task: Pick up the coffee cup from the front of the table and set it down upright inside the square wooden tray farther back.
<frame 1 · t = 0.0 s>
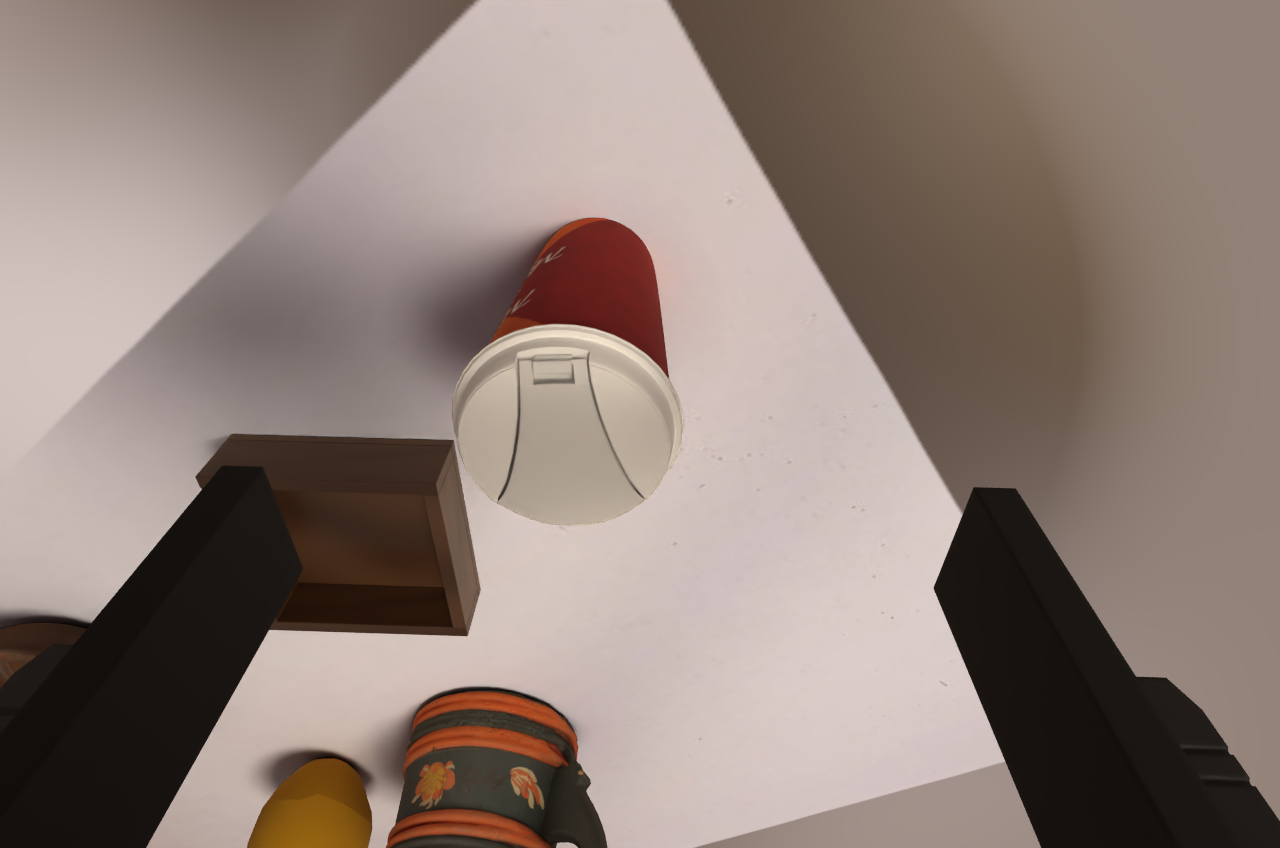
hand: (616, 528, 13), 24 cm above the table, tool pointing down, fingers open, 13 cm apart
apple: (339, 764, 66), on the table
coffee cup: (597, 273, 36), on the table
dish: (92, 667, 57), on the table
square wooden tray: (366, 518, 46), on the table
beer stein: (518, 724, 61), on the table
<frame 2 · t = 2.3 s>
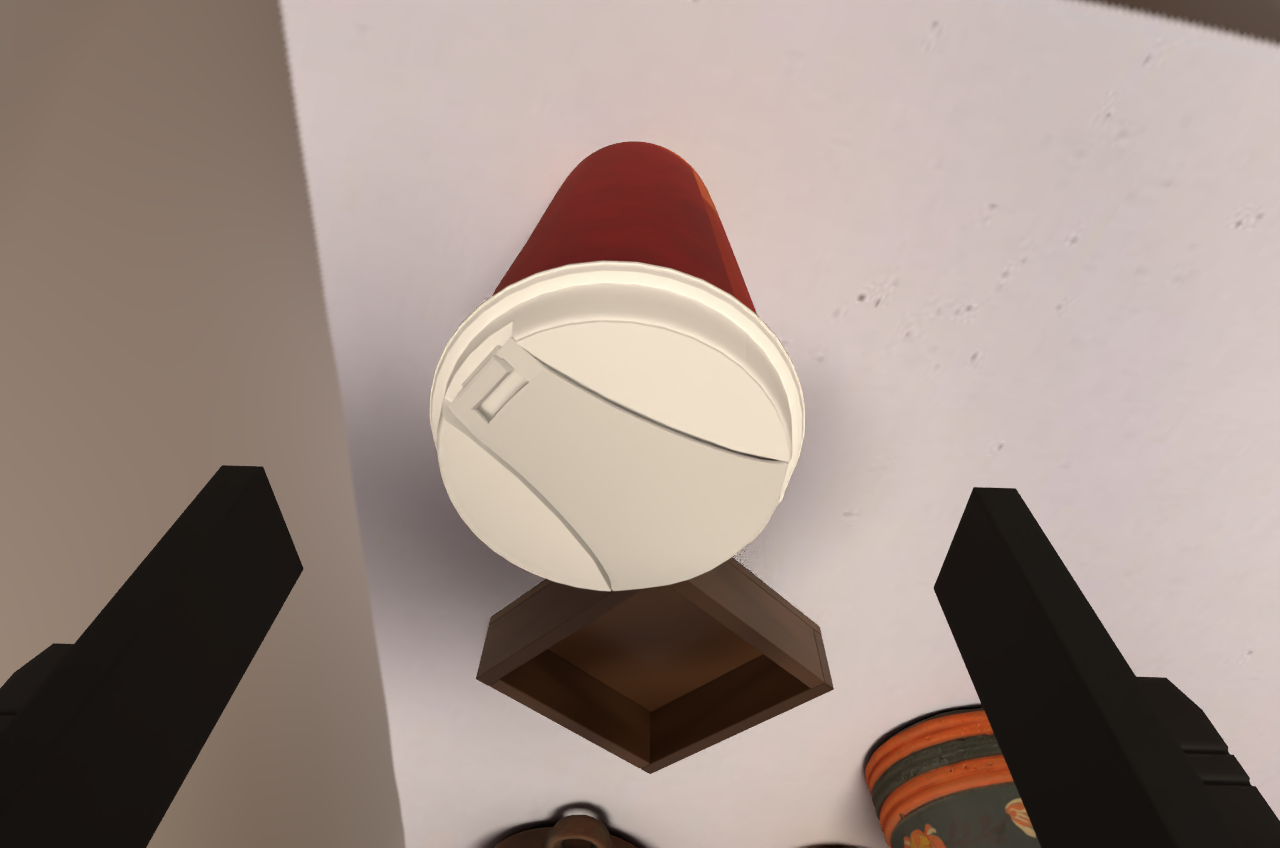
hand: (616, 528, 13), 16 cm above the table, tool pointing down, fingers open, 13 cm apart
coffee cup: (636, 221, 26), on the table
square wooden tray: (654, 622, 40), on the table
beer stein: (985, 739, 47), on the table
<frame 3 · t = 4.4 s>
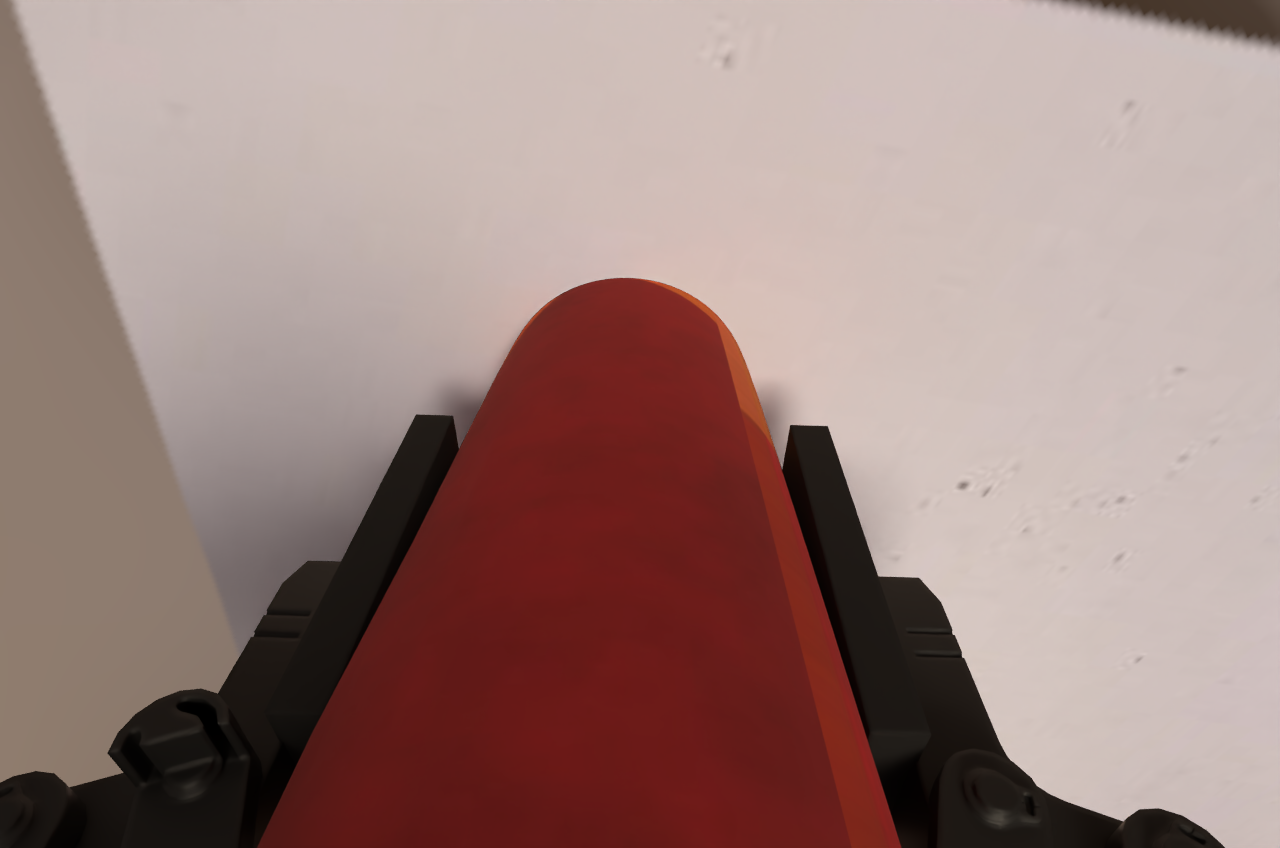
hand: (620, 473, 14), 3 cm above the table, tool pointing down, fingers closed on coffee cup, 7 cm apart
coffee cup: (630, 384, 17), on the table, touching gripper
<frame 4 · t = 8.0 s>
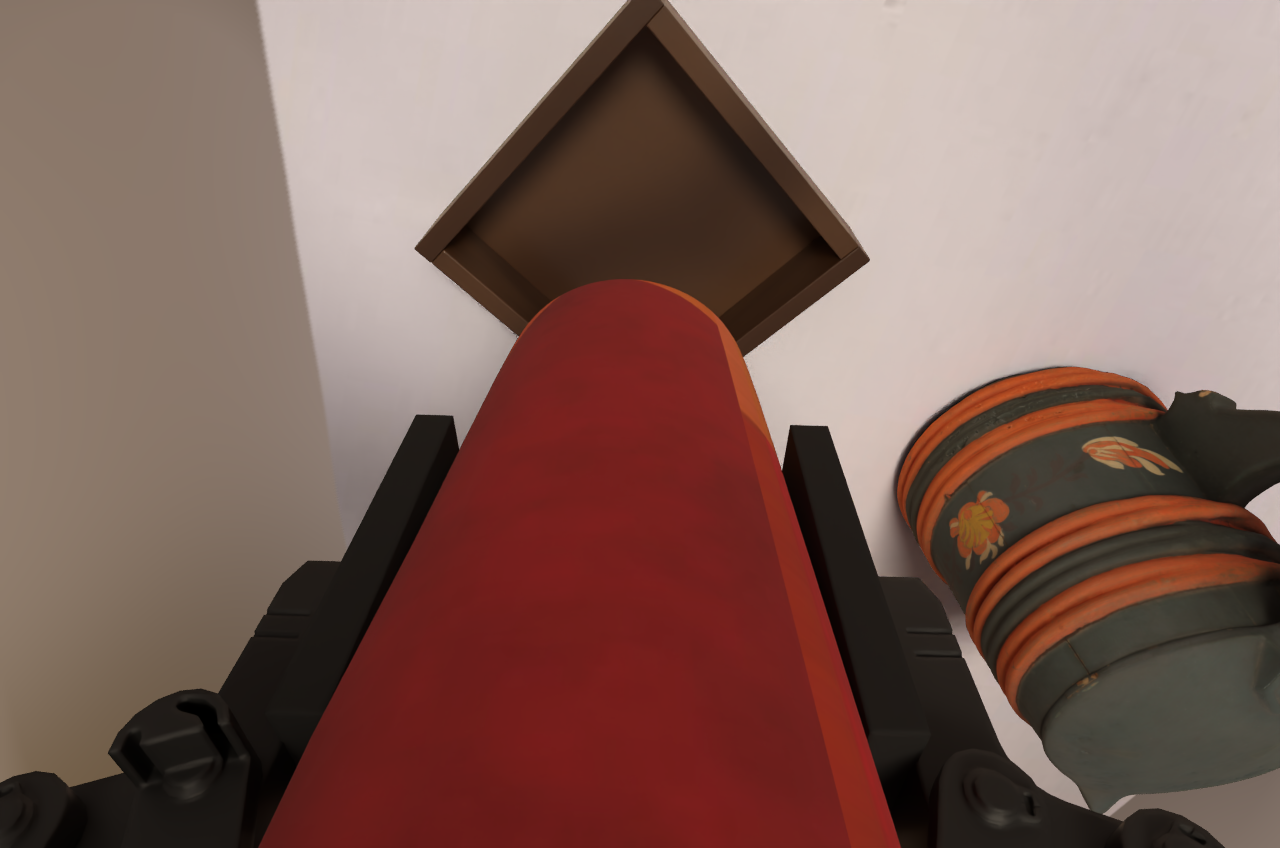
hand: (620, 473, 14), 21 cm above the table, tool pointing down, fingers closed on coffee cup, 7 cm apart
coffee cup: (629, 385, 17), point 17 cm above the table, touching gripper
square wooden tray: (643, 221, 32), on the table
beer stein: (1043, 435, 39), on the table
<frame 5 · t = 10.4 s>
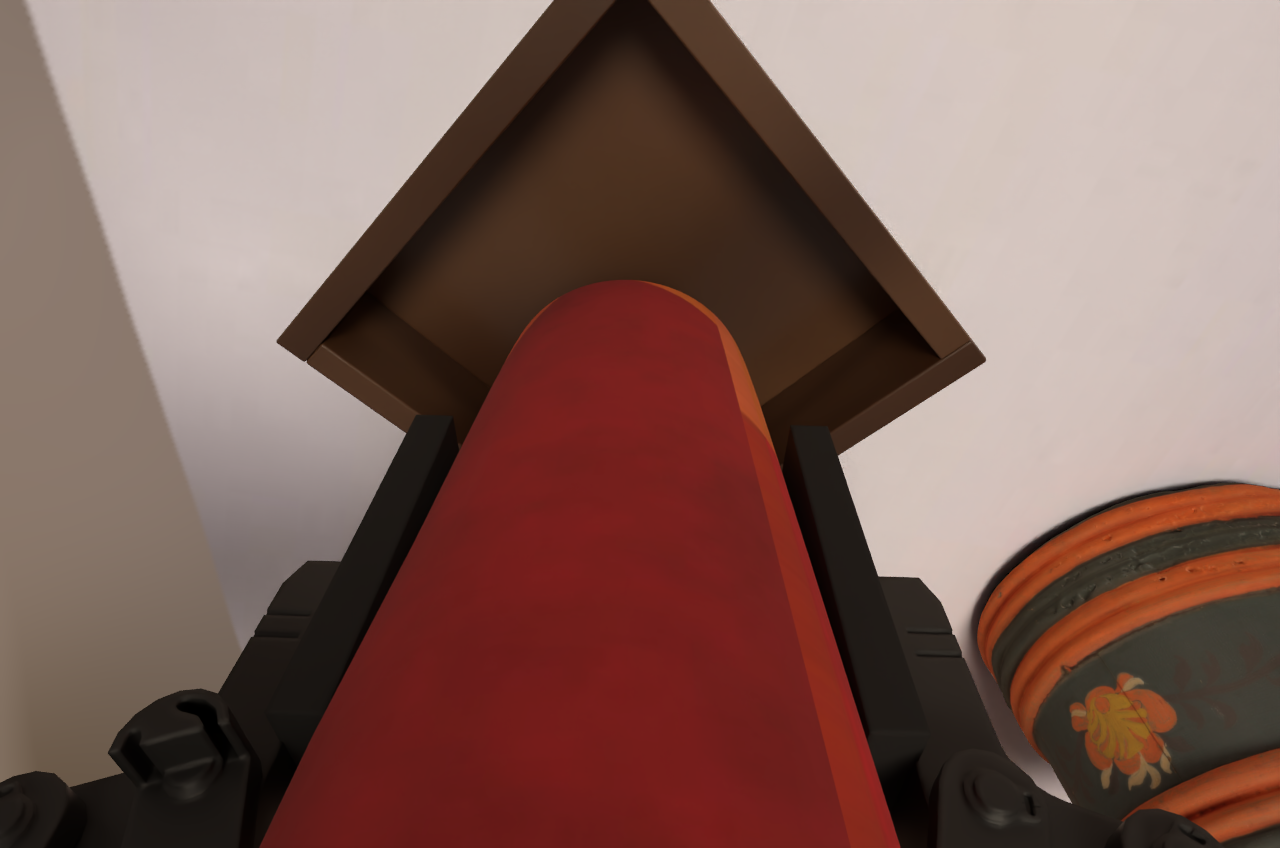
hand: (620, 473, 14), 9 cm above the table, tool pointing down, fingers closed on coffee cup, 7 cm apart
coffee cup: (629, 385, 17), point 6 cm above the table, touching gripper
square wooden tray: (634, 288, 22), on the table
beer stein: (1181, 563, 29), on the table
when the fingers open (4 cm above the table, at t = 12.1 s): coffee cup stays where it is, resting on square wooden tray.
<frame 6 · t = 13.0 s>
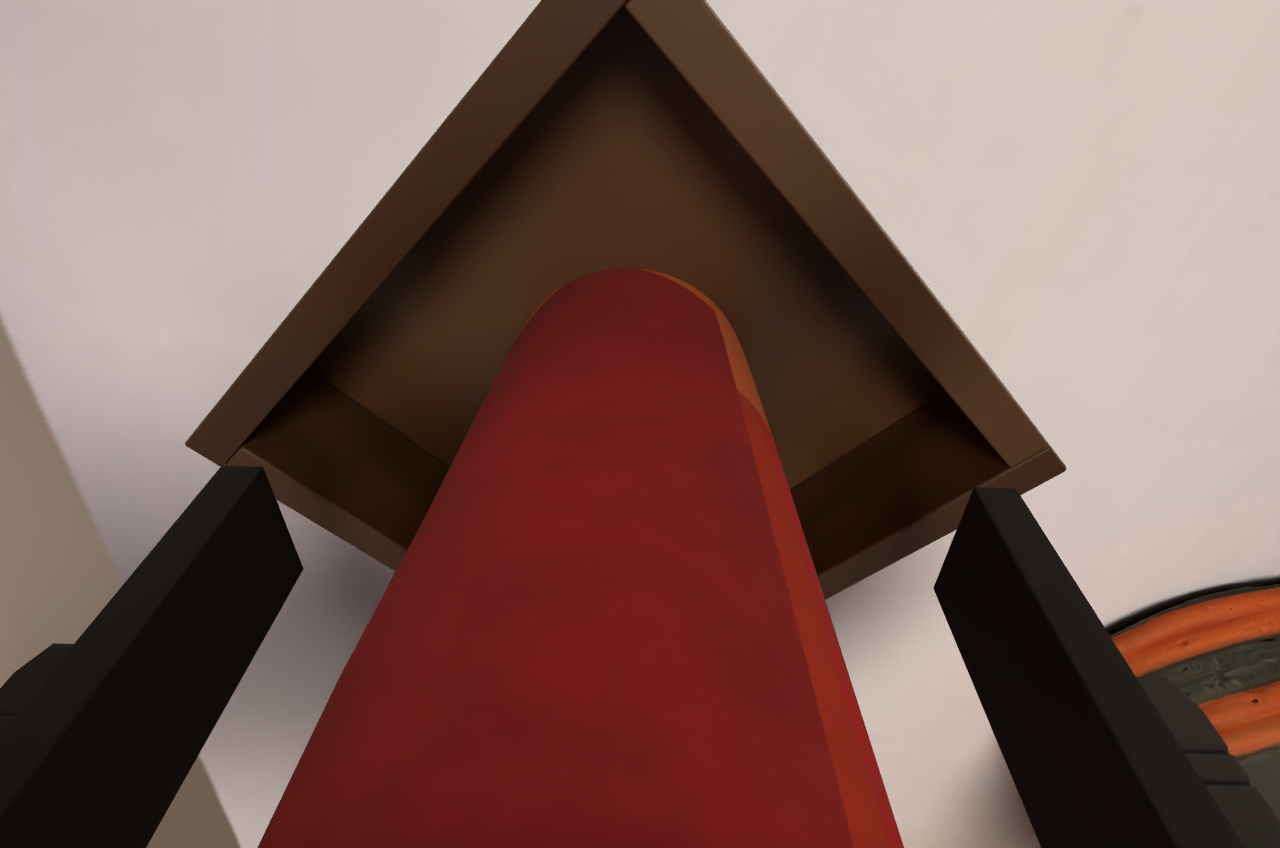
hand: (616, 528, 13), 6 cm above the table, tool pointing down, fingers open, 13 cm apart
coffee cup: (631, 371, 18), resting on square wooden tray
square wooden tray: (629, 363, 18), on the table
beer stein: (1258, 658, 25), on the table
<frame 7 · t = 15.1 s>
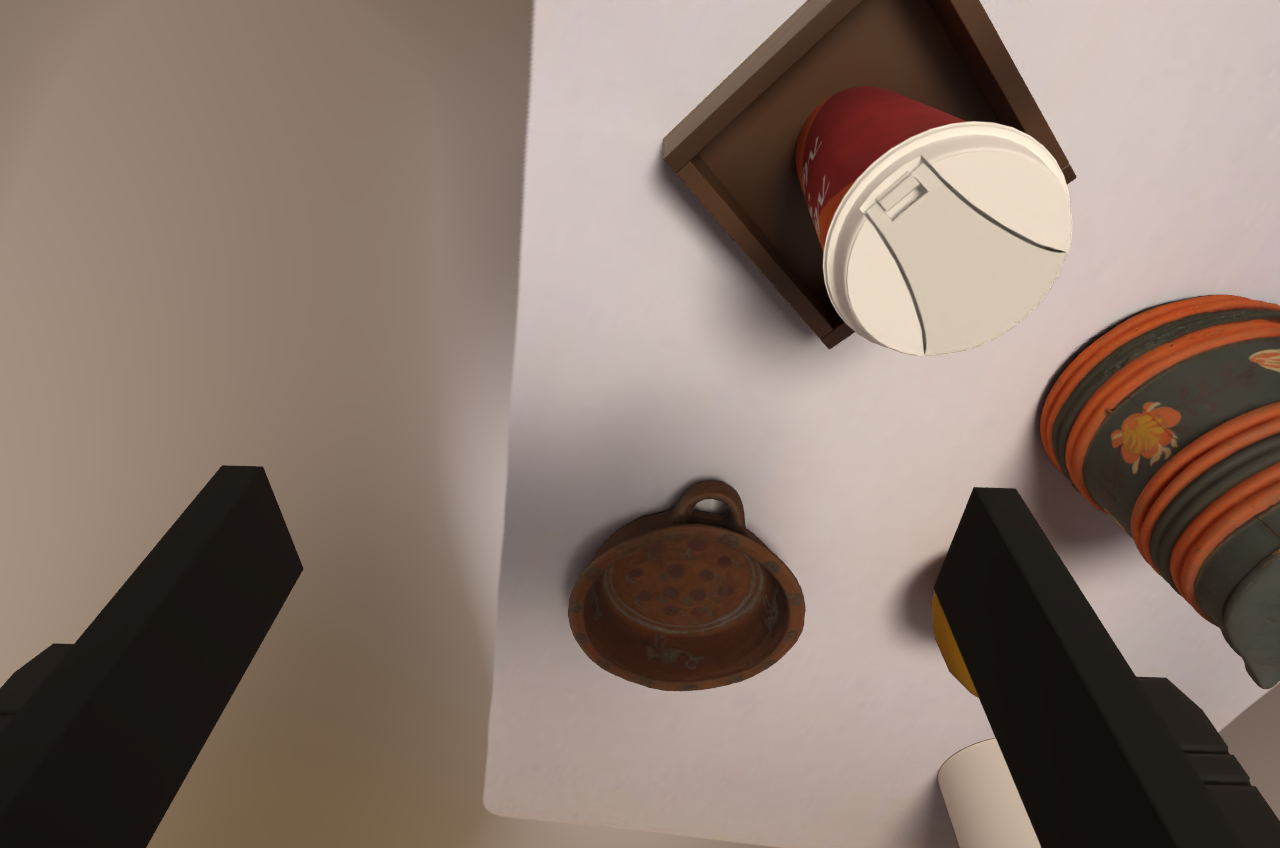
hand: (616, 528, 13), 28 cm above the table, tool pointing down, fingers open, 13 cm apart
apple: (974, 564, 53), on the table
canister: (1005, 769, 70), on the table
coffee cup: (853, 149, 35), resting on square wooden tray
dish: (684, 569, 54), on the table
square wooden tray: (850, 146, 35), on the table
beer stein: (1182, 365, 42), on the table
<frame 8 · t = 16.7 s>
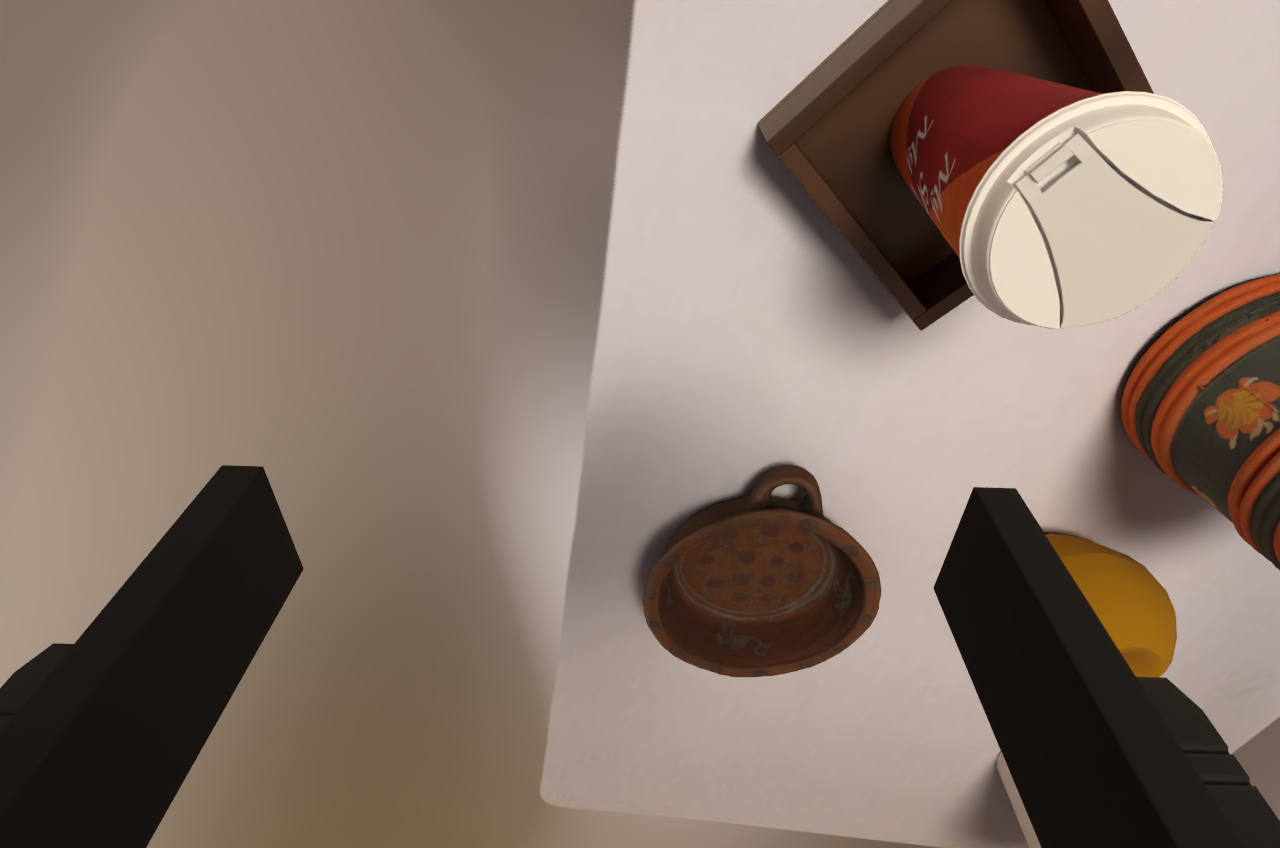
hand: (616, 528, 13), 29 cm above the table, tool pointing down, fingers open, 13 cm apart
apple: (1045, 546, 53), on the table
canister: (1065, 753, 70), on the table
coffee cup: (948, 129, 35), resting on square wooden tray
dish: (753, 556, 55), on the table
square wooden tray: (945, 127, 35), on the table
beer stein: (1267, 341, 42), on the table
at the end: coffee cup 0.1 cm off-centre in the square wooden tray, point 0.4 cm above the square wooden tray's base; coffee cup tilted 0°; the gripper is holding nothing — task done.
